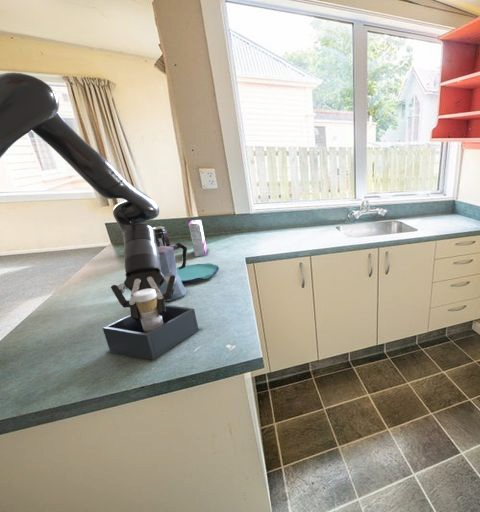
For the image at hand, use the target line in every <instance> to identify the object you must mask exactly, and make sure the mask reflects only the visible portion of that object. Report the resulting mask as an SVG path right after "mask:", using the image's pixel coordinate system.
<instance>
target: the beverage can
mask: <svg viewBox="0 0 480 512" xmlns="http://www.w3.org/2000/svg"><path fill="white" fill-rule="evenodd" d="M152 228H153V229H154V232H155V237H156V243H158V247H161V246H170V245H171V242H170V238H169V233H168V230H167V228H166V227H165V226H154V227H152Z"/></svg>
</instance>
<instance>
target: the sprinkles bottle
mask: <svg viewBox="0 0 480 512" xmlns="http://www.w3.org/2000/svg"><path fill="white" fill-rule="evenodd" d="M133 298H134V301H135V302H136V305H137V308H138V312H139V315H140V320H141V324H142V327H143V329H144V333H149V332H150V331H152V330H154V329H156V328H158V327H159V326H161V325H163V324H164V323H163V319H162V316H160V315H159V312H158V305H157V294H156V291H155V289H143V290H139V291H137V292H135V293H134V294H133Z"/></svg>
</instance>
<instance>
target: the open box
mask: <svg viewBox="0 0 480 512" xmlns="http://www.w3.org/2000/svg"><path fill="white" fill-rule="evenodd" d="M165 307H166V312H165V313H163V315H162V319H163V323H164V324H163V325H161V326H159V327H158V328H156V329H154V330H152V331H150V332H149V333H144V329H143V327H142V324H141V320H139V321H136V320H135V319H133V318H132V317H131V314H129V315H127V316H125V317H123V318H121V319H119V320H116V321H114V322H112V323H110V324H108V325H106V326H104V327H102V332H103V334H104V337H105V341H106V343H107V347H108V349H109V352H112V353H116V354H121V355H126V356H132V357H136V358H142V359H147V360H156V359H157V358H158V357H160V356H161V355H163V354H165V353H166V352H168V351H169V350H171V349H172V348H174V347H175V346H177V345H178V344H180V343H181V342H183V341H184V340H186V339H187V338H189V337H190V336H192V335H193V334H195V333H196V332H198V331H199V327H198V326H199V325H198V320H197V315H196V311H195V308H193V307H185V306H177V305H171V304H165Z"/></svg>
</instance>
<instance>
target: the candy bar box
mask: <svg viewBox="0 0 480 512" xmlns="http://www.w3.org/2000/svg"><path fill="white" fill-rule="evenodd" d="M187 225H188V226H187V227H188V230H189V235H190V239H191V240H190V241H191V245H192V249H193V253H194V257H203V256H206V255H207V251H208V248H207V242H206V237H205V231H204V227H203V222H202V219H193V220H190V221H189V223H188V224H187Z"/></svg>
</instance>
